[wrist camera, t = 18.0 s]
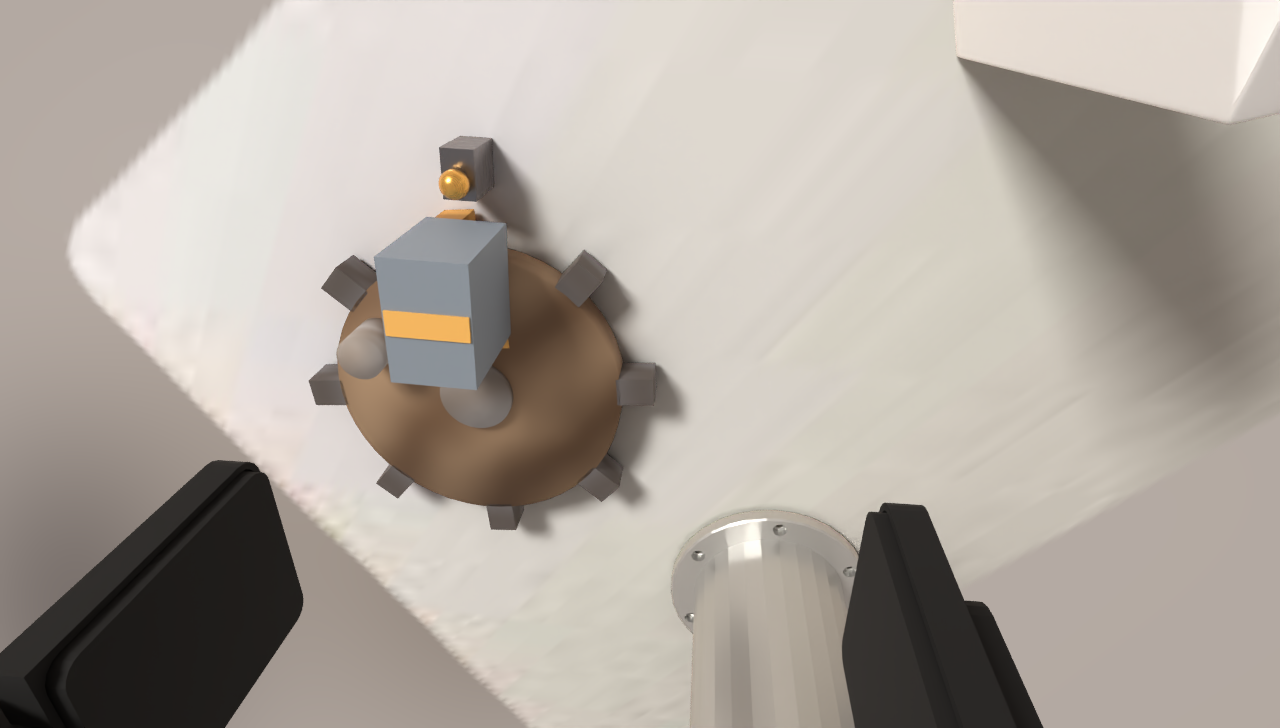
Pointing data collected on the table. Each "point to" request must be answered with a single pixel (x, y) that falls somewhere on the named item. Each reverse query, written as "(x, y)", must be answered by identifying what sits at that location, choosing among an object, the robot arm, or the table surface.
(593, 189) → the table surface
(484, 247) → the link block
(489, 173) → the block with gold knob
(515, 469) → the sprocket
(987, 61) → the milk
